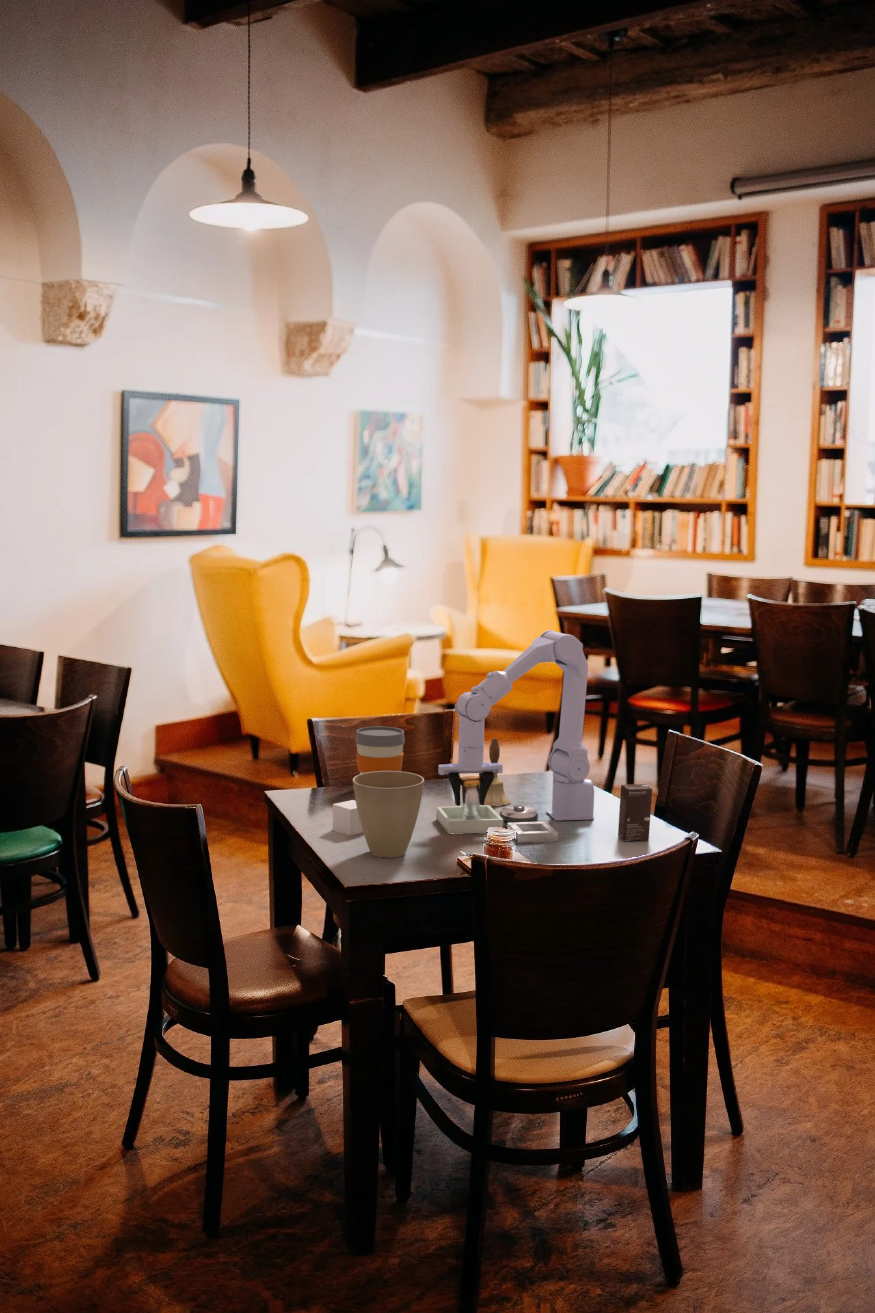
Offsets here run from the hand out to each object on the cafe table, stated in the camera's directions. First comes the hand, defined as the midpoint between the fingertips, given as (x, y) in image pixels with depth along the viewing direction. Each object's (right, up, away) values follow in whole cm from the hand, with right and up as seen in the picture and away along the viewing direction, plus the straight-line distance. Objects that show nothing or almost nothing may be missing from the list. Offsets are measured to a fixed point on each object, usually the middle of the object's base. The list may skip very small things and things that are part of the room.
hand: (469, 804), depth 279 cm
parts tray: (0, -5, +1) cm, 5 cm away
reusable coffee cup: (-22, 0, +33) cm, 40 cm away
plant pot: (-18, -8, -21) cm, 29 cm away
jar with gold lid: (+1, -3, 0) cm, 3 cm away
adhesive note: (-27, -5, -5) cm, 28 cm away
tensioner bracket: (+13, -6, -1) cm, 14 cm away
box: (+36, -7, -7) cm, 38 cm away
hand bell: (+6, -2, +22) cm, 23 cm away
